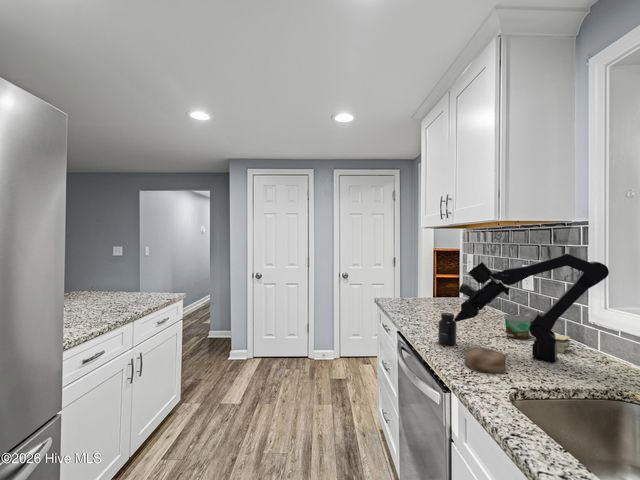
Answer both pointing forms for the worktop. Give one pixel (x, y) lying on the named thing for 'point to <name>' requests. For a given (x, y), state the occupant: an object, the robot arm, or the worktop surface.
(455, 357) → the worktop surface
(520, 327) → the food container
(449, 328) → the supplement bottle
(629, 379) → the worktop surface
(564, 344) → the stacked layers on plate
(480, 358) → the walnut plinth
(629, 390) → the worktop surface
